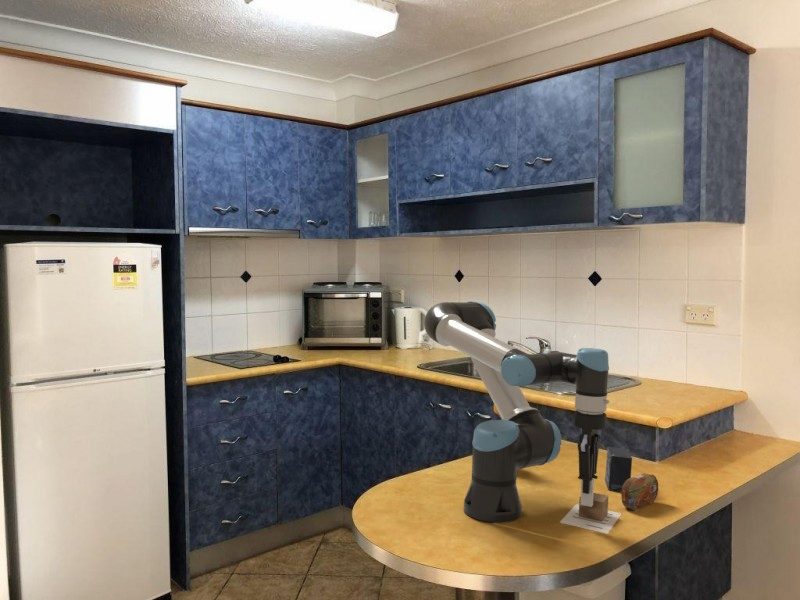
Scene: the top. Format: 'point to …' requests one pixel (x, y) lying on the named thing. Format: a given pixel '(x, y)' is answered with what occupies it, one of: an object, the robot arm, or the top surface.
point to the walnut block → (595, 508)
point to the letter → (590, 520)
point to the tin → (639, 491)
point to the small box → (617, 468)
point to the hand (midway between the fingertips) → (586, 504)
